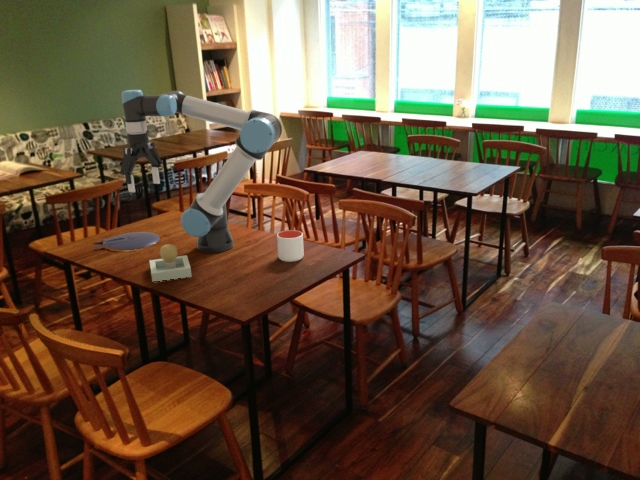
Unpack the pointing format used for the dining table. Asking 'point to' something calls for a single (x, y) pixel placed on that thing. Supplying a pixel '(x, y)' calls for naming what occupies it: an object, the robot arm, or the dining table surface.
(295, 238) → the cup
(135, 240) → the toy spaceship
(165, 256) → the light bulb
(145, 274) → the dining table surface
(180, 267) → the tray
